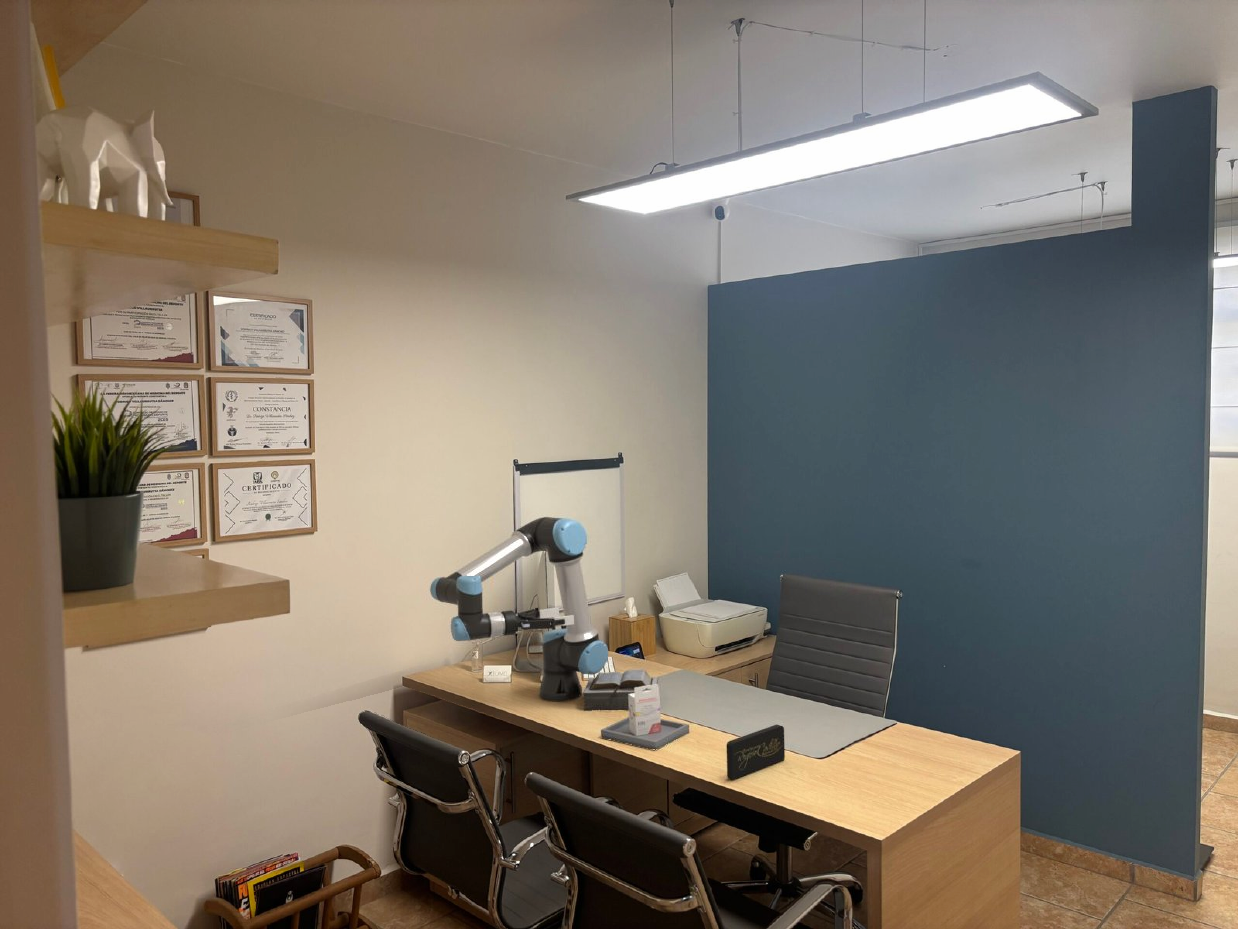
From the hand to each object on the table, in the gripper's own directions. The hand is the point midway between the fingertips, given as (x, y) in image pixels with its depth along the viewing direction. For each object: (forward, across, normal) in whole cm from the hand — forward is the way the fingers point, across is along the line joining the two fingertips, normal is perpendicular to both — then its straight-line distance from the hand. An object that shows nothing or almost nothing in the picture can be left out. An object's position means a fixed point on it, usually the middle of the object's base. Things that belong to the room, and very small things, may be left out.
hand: (566, 615), depth 284 cm
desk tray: (+15, +25, -34) cm, 45 cm away
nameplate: (+30, +63, -34) cm, 78 cm away
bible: (+22, -9, -35) cm, 42 cm away
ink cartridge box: (+15, +24, -33) cm, 44 cm away
